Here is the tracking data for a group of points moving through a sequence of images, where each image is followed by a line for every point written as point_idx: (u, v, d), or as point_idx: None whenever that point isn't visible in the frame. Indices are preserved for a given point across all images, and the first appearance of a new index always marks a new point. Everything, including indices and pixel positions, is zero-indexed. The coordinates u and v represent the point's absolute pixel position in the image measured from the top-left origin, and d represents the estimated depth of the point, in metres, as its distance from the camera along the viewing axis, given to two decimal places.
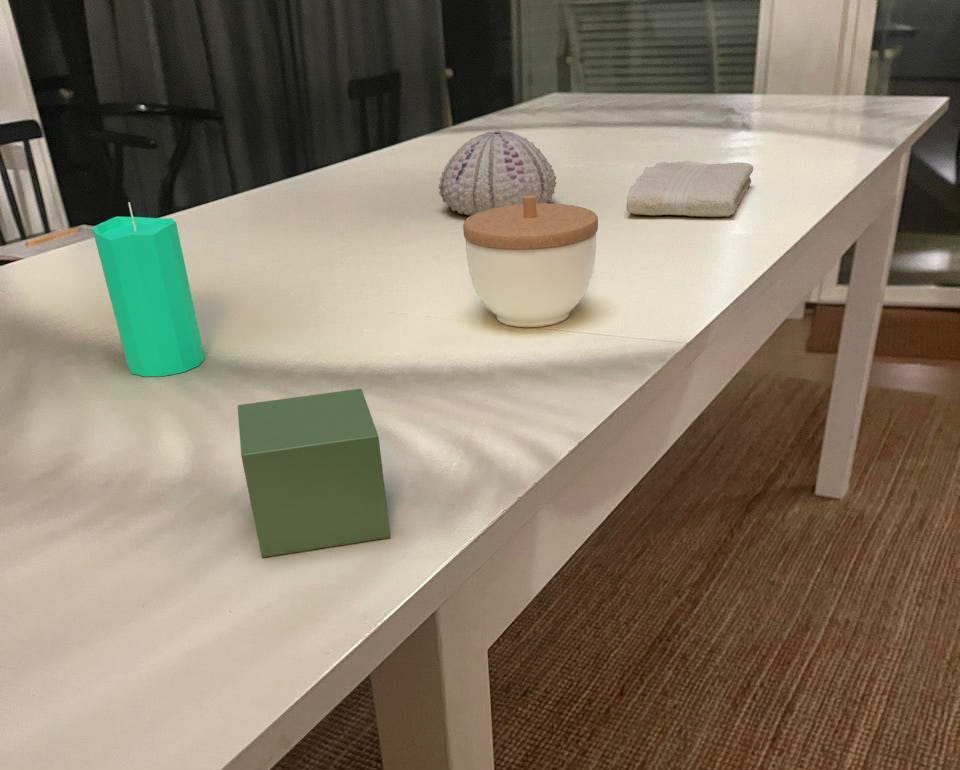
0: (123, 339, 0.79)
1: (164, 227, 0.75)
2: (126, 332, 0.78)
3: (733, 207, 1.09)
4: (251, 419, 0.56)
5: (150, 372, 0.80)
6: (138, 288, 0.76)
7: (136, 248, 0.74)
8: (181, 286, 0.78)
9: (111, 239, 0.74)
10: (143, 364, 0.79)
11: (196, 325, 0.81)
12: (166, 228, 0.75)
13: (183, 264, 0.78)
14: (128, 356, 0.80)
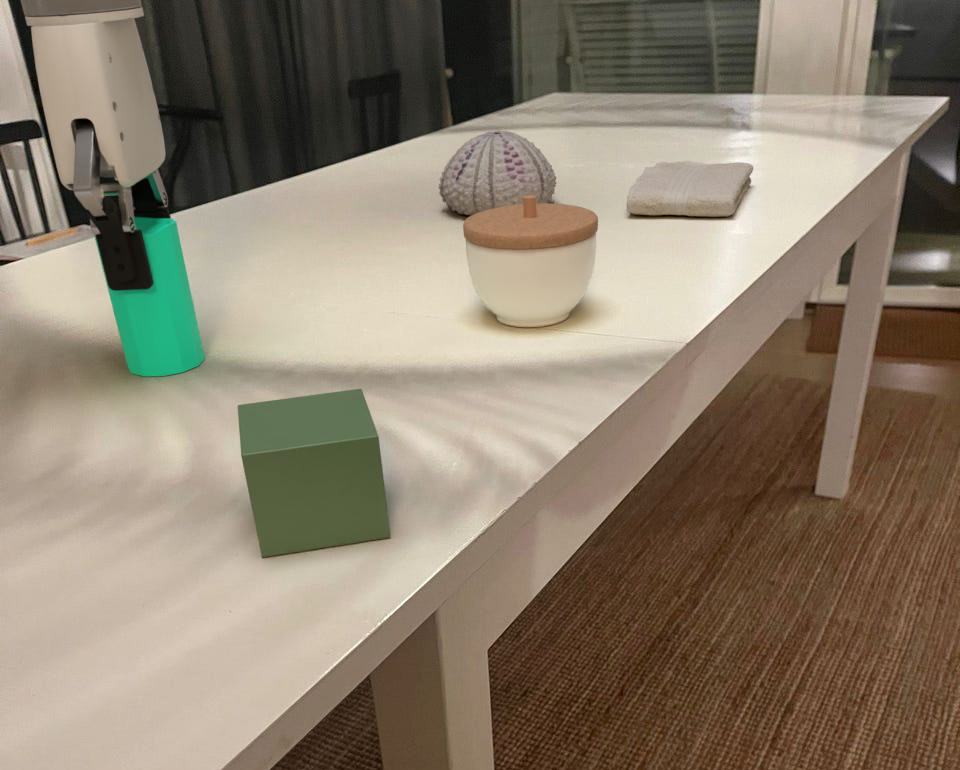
0: (123, 339, 0.79)
1: (164, 227, 0.75)
2: (126, 331, 0.78)
3: (733, 207, 1.09)
4: (251, 419, 0.56)
5: (150, 372, 0.80)
6: None
7: None
8: (182, 286, 0.78)
9: None
10: (143, 364, 0.79)
11: (196, 325, 0.81)
12: (166, 228, 0.75)
13: (183, 264, 0.78)
14: (128, 356, 0.80)
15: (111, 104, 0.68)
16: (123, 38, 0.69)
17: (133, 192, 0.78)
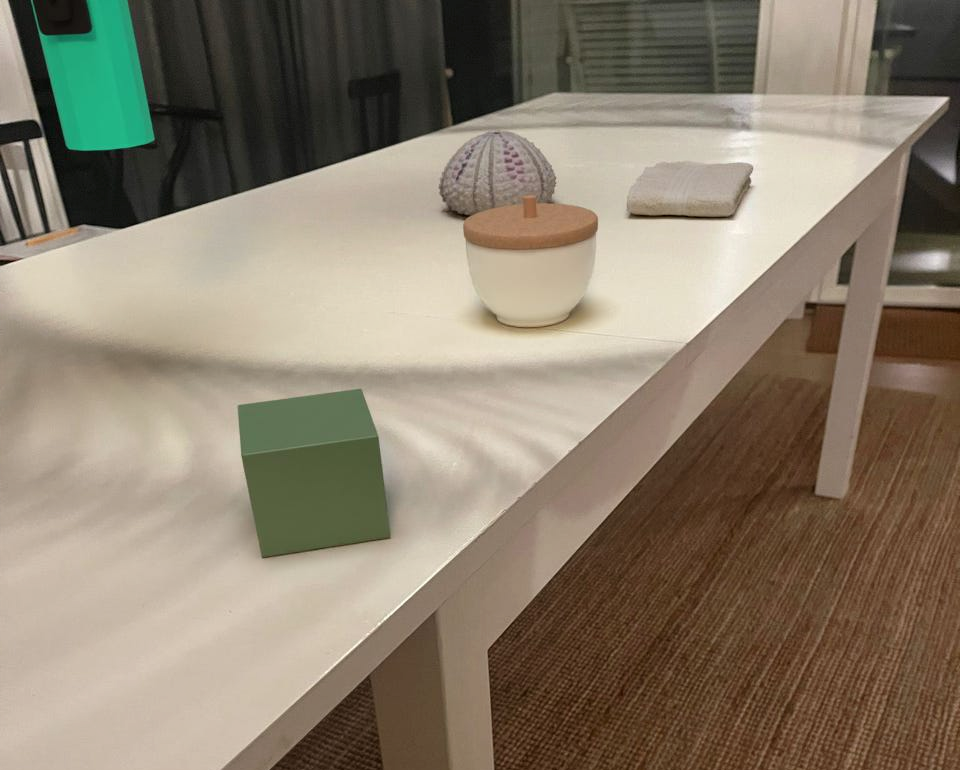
0: (59, 105, 0.69)
1: None
2: (62, 94, 0.68)
3: (733, 207, 1.09)
4: (251, 419, 0.56)
5: (90, 145, 0.70)
6: (75, 36, 0.66)
7: None
8: (126, 41, 0.68)
9: None
10: (83, 135, 0.69)
11: (144, 96, 0.71)
12: None
13: (129, 17, 0.68)
14: (65, 127, 0.70)
15: None
16: None
17: None
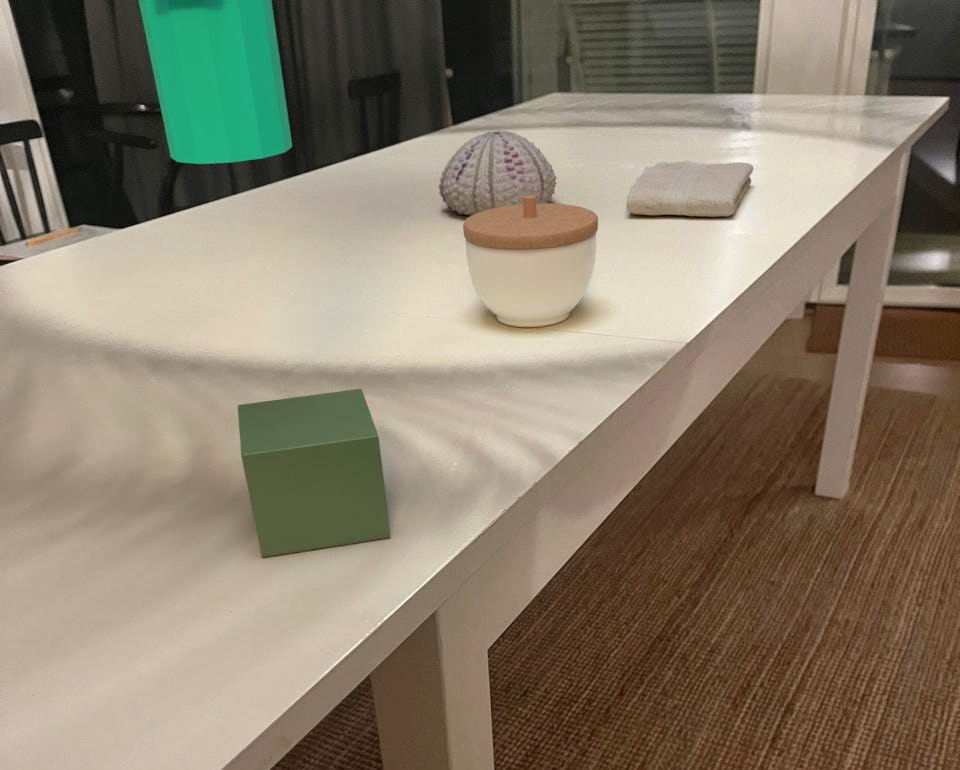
0: (166, 100, 0.49)
1: None
2: (171, 84, 0.48)
3: (733, 207, 1.09)
4: (251, 419, 0.56)
5: (209, 156, 0.49)
6: None
7: None
8: (263, 6, 0.47)
9: None
10: (199, 141, 0.49)
11: (282, 85, 0.50)
12: None
13: None
14: (173, 131, 0.49)
15: None
16: None
17: None
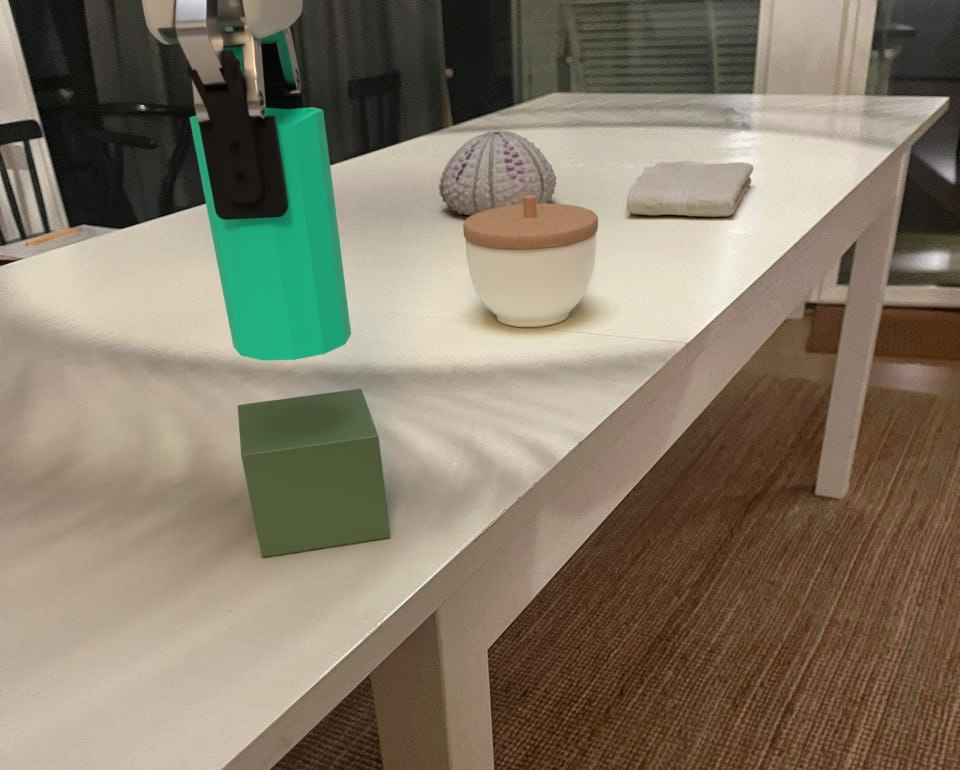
0: (232, 301, 0.50)
1: (308, 115, 0.46)
2: (238, 289, 0.49)
3: (733, 207, 1.09)
4: (251, 419, 0.56)
5: (273, 354, 0.50)
6: None
7: None
8: (328, 215, 0.49)
9: None
10: (264, 341, 0.50)
11: (343, 281, 0.52)
12: (312, 117, 0.46)
13: (330, 181, 0.49)
14: (238, 328, 0.51)
15: None
16: None
17: None
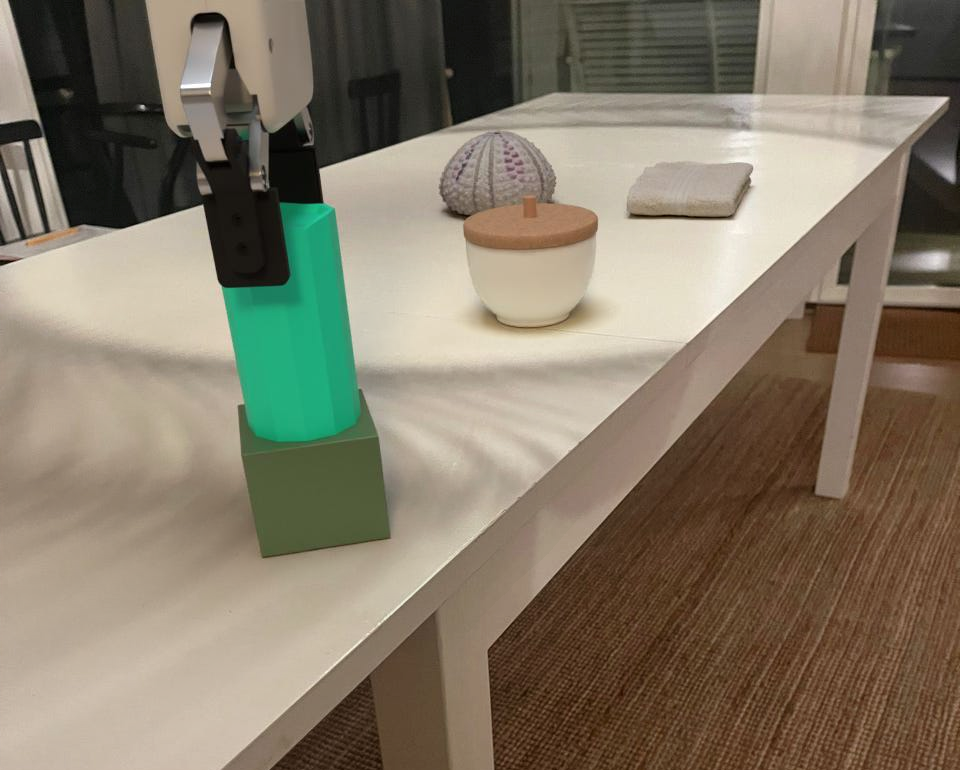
0: (248, 386, 0.52)
1: (321, 216, 0.48)
2: (253, 376, 0.52)
3: (733, 207, 1.09)
4: None
5: (287, 436, 0.53)
6: (278, 311, 0.49)
7: None
8: (340, 306, 0.51)
9: None
10: (278, 424, 0.53)
11: (353, 364, 0.54)
12: (324, 218, 0.48)
13: (341, 273, 0.51)
14: (254, 411, 0.53)
15: None
16: None
17: None
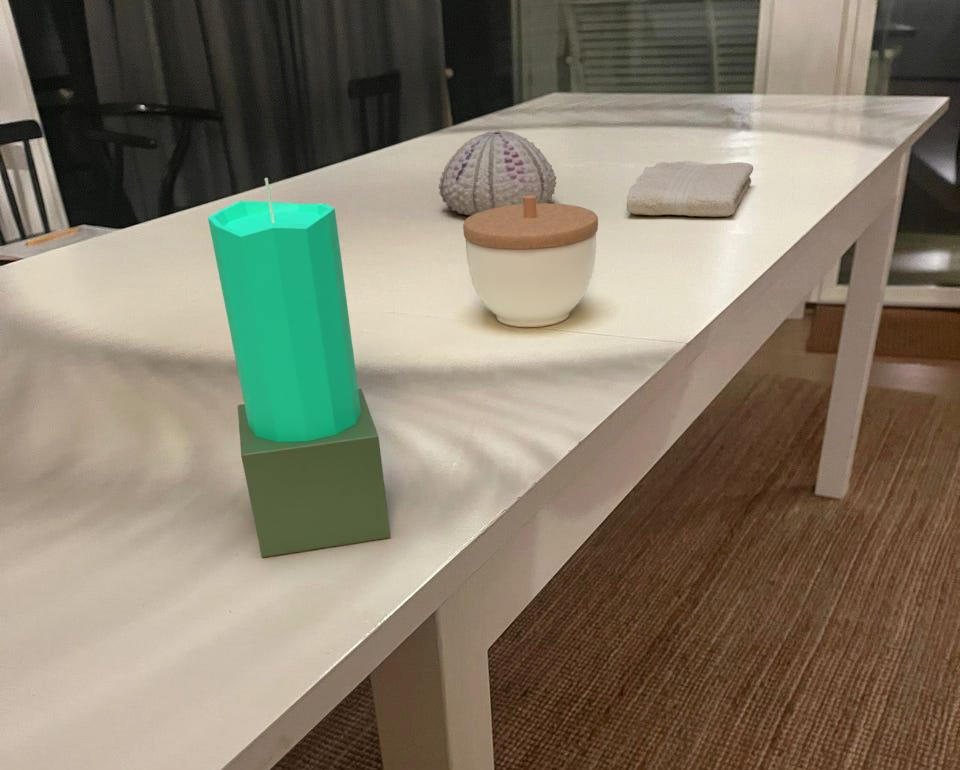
0: (248, 387, 0.52)
1: (321, 216, 0.48)
2: (253, 376, 0.52)
3: (733, 207, 1.09)
4: None
5: (287, 436, 0.53)
6: (278, 311, 0.49)
7: (280, 250, 0.48)
8: (340, 306, 0.51)
9: (241, 235, 0.47)
10: (278, 424, 0.53)
11: (353, 364, 0.54)
12: (324, 218, 0.48)
13: (341, 273, 0.51)
14: (254, 411, 0.53)
15: None
16: None
17: None
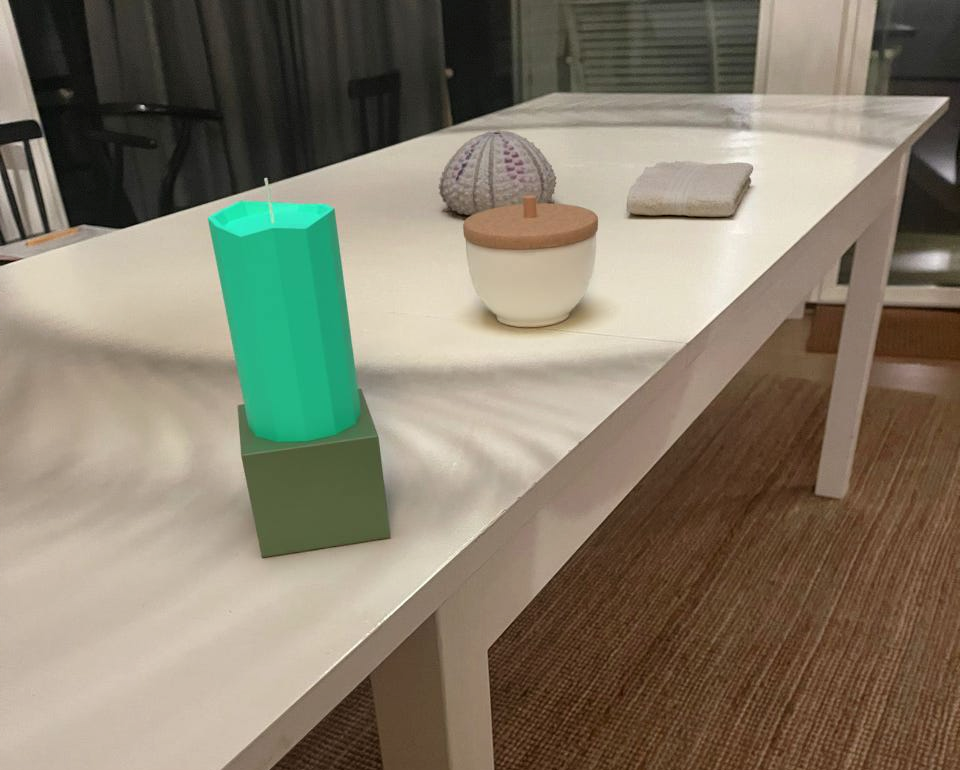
0: (248, 387, 0.52)
1: (321, 216, 0.48)
2: (253, 376, 0.52)
3: (733, 207, 1.09)
4: None
5: (287, 436, 0.53)
6: (278, 311, 0.49)
7: (280, 250, 0.48)
8: (340, 306, 0.51)
9: (241, 235, 0.47)
10: (278, 424, 0.53)
11: (353, 364, 0.54)
12: (324, 218, 0.48)
13: (341, 273, 0.51)
14: (254, 412, 0.53)
15: None
16: None
17: None
